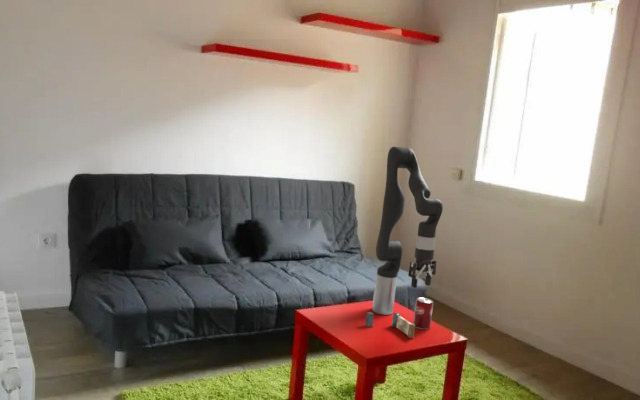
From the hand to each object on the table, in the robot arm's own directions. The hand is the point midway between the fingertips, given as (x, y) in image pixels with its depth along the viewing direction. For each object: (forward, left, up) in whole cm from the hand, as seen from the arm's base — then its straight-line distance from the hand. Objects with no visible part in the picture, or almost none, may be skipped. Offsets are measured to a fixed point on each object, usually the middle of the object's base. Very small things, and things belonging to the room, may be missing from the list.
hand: (420, 286), depth 230 cm
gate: (-2, -3, -21) cm, 21 cm away
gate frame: (-11, -9, -21) cm, 25 cm away
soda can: (-8, +9, -21) cm, 24 cm away
